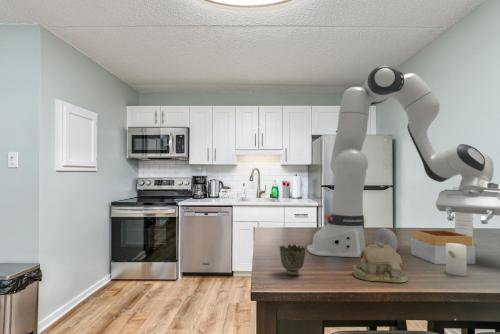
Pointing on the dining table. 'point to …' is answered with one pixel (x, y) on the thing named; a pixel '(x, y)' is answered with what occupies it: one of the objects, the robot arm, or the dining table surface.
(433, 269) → the dining table surface
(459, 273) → the spout can
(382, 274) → the ceramic model
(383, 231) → the donut
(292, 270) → the cup
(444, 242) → the white orange open box
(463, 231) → the water bottle
